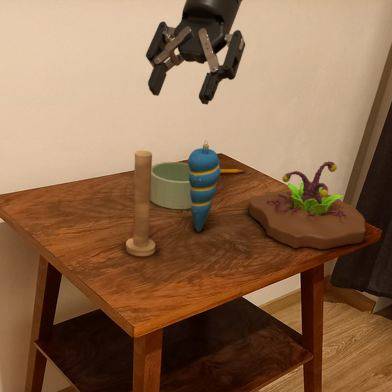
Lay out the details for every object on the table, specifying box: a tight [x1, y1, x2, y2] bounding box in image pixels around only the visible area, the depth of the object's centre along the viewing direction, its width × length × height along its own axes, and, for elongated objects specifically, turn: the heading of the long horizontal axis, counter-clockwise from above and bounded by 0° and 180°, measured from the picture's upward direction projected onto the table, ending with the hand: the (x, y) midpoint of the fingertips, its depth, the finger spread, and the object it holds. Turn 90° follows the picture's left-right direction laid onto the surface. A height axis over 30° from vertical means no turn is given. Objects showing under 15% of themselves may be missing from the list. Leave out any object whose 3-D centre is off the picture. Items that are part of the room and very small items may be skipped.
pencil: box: [220, 168, 244, 174], centre depth 113 cm, size 1×19×1 cm
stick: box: [125, 150, 156, 257], centre depth 80 cm, size 5×5×15 cm
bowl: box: [150, 161, 192, 210], centre depth 100 cm, size 10×10×5 cm
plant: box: [248, 160, 366, 251], centre depth 94 cm, size 20×20×11 cm
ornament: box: [187, 139, 221, 233], centre depth 87 cm, size 5×5×15 cm
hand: (177, 96), depth 79 cm, fingers open, 8 cm apart
